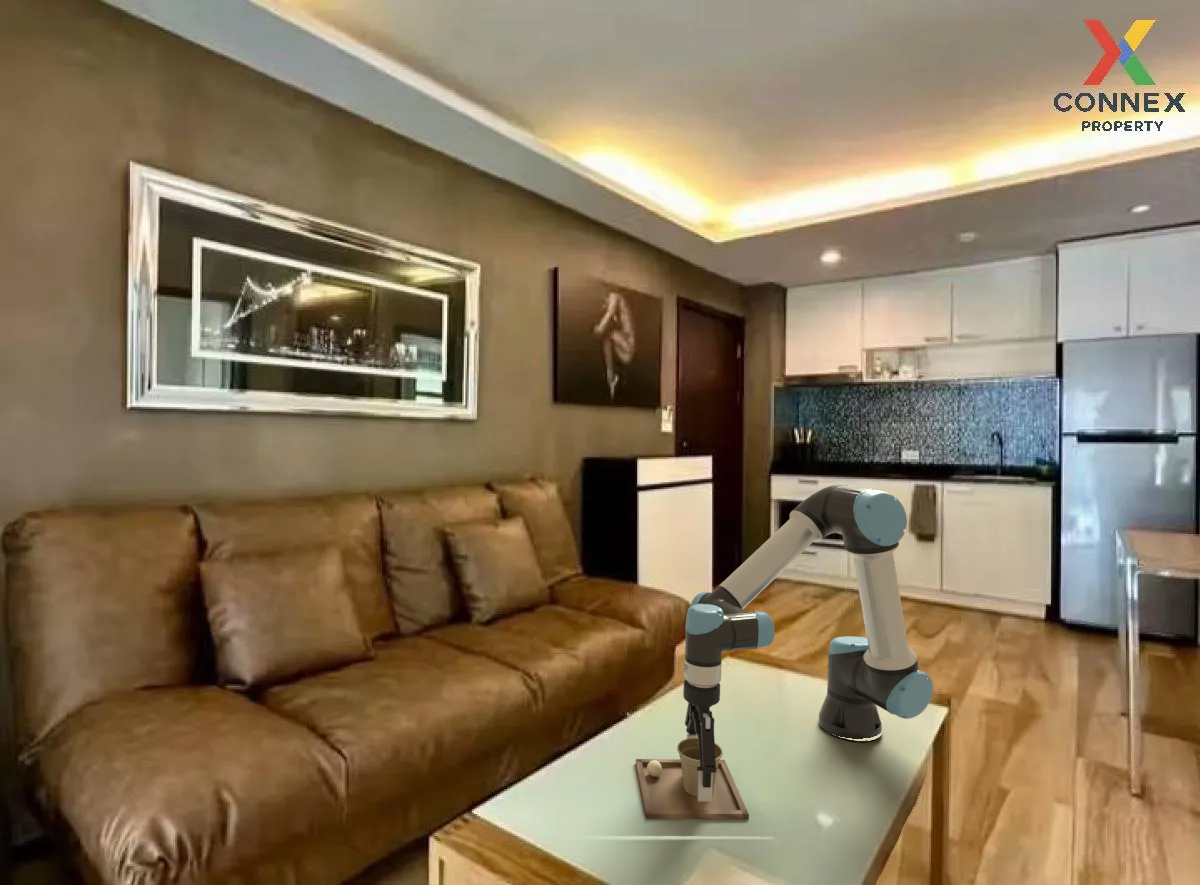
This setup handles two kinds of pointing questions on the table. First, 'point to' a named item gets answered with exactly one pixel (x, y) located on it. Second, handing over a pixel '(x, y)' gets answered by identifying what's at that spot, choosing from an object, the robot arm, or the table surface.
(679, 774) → the tray
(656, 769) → the cream white ball
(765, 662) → the table surface
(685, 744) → the flower pot
